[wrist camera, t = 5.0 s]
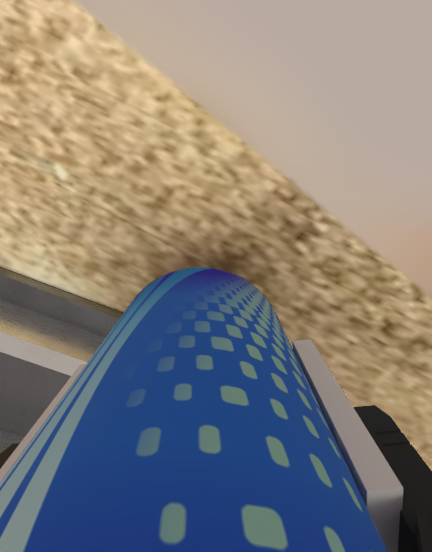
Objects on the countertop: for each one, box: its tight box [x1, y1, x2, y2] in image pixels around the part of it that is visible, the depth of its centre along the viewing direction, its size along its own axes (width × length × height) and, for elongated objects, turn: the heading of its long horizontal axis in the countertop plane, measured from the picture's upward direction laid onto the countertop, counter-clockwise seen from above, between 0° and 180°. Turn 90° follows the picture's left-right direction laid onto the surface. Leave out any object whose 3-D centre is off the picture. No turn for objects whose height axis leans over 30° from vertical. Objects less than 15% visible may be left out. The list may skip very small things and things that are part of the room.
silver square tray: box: [0, 267, 124, 453], centre depth 24 cm, size 18×18×4 cm
